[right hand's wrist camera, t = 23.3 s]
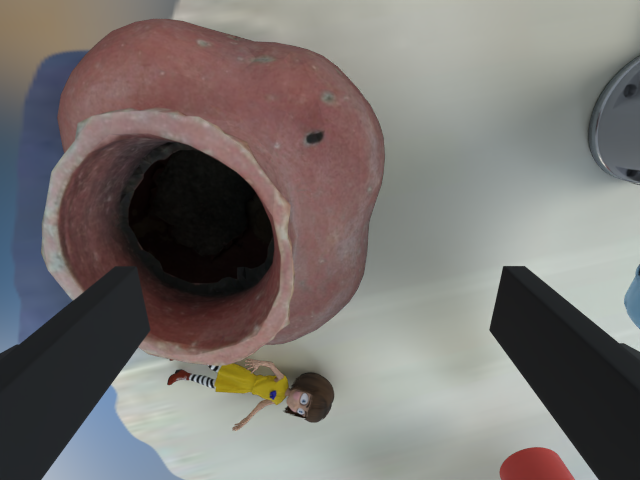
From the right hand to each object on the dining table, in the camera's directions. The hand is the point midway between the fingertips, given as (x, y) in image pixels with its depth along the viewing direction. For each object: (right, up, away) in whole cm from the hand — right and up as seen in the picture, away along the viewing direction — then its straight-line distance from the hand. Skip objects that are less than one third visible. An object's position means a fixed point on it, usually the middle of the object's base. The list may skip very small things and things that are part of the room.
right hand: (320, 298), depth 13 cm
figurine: (-10, -19, +43) cm, 48 cm away
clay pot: (-9, +10, +31) cm, 34 cm away
